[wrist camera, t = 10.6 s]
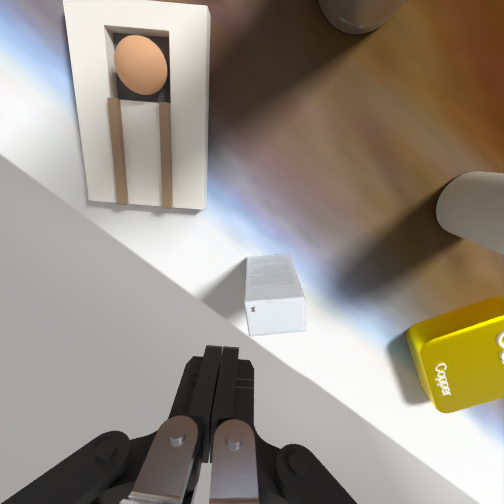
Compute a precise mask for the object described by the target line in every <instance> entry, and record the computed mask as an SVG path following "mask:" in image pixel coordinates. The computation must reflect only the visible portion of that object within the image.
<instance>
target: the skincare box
mask: <svg viewBox="0 0 504 504" xmlns="http://www.w3.org/2000/svg"><path fill="white" fill-rule="evenodd" d="M244 306H245V312H246V318H247V324H248V331H249V336H257V335H268V334H278V333H288V332H299V331H306V308H305V296H304V293H303V290H302V288H301V285H300V282H299V279H298V277H297V274H296V271H295V268H294V265H293V262H292V259H291V256H290V254H289V253H285V254H275V255H265V256H256V257H247V261H246V278H245V296H244Z"/></svg>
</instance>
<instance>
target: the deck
mask: <svg viewBox="0 0 504 504" xmlns="http://www.w3.org/2000/svg"><path fill="white" fill-rule="evenodd" d="M63 4H64V12H65V20H66V28H67V35H68V43H69V51H70V58H71V66H72V74H73V82H74V89H75V97H76V105H77V112H78V120H79V128H80V136H81V143H82V151H83V159H84V166H85V174H86V182H87V189H88V197H89V201H101V202H113V203H117V204H120V205H127V204H138V205H151V206H162V208H172V207H176V208H189V209H201V210H204V209H205V208H206V207H207V165H208V114H209V64H210V13H209V10H208V7H207V6H203V5H192V4H181V3H170V2H158V1H147V0H63ZM131 35H140V36H143V37H146V38H148V39H150V40H151V41H152V42H154V43H155V44H156V45H157V46H158V47H159V49H160V50H161V52H162V53H163V55H164V58H165V60H166V64H167V78H166V82H165V84H164V85H163V87H162V88H161V89H160V90H159V91H158V92H156V93H154V94H150V95H142V94H138V93H136V92H134V91H132V90H130V89H129V88H128V87H127V86H126V85H125V84H124V83H123V82H122V81H121V79H120V78H119V76H118V74H117V72H116V68H115V64H114V54H115V49H116V47H117V45H118V43H119V42H120V41H121V40H122V39H124V38H125V37H127V36H131Z"/></svg>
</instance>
